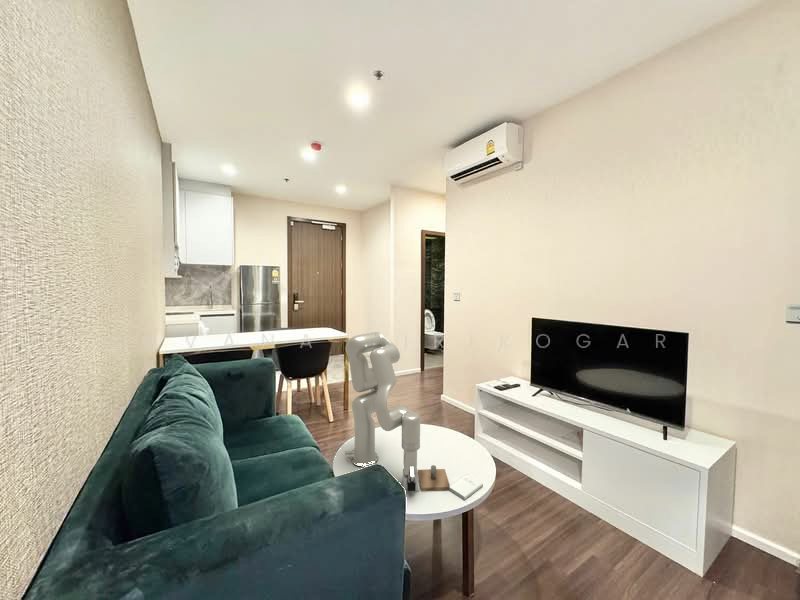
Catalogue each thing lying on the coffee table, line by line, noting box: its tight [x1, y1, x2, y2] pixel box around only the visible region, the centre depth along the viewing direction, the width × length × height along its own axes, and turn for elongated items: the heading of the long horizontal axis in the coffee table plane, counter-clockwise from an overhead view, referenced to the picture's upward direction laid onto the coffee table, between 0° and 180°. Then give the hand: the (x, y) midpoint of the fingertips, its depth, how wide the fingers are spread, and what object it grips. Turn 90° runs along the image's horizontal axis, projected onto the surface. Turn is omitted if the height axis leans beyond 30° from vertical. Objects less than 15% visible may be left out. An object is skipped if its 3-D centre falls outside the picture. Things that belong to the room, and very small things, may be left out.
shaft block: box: [417, 464, 451, 492], centre depth 138 cm, size 12×12×6 cm
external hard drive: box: [448, 474, 484, 501], centre depth 134 cm, size 2×8×12 cm
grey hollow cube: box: [402, 468, 420, 493], centre depth 135 cm, size 6×6×6 cm
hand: (410, 483), depth 135 cm, fingers open, 8 cm apart
